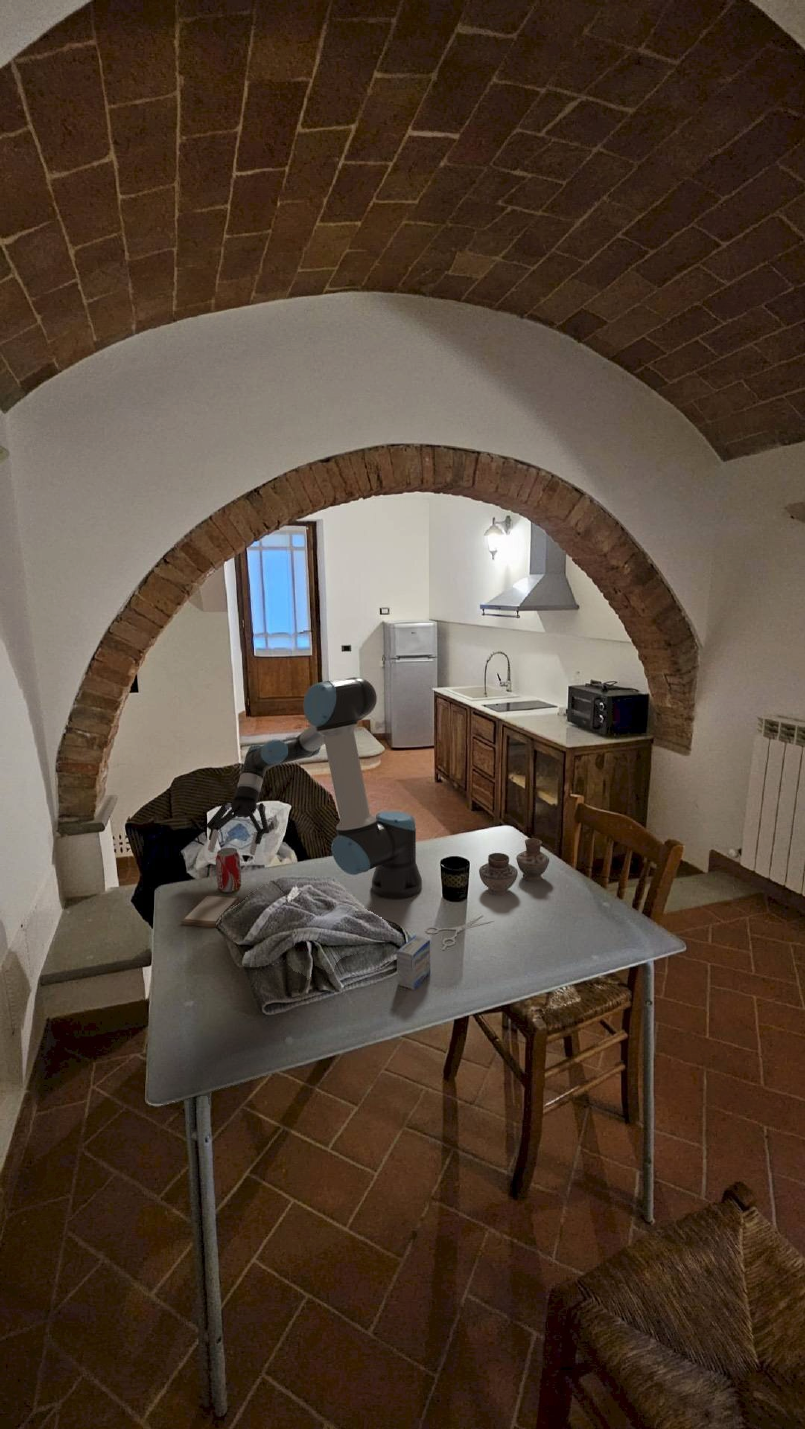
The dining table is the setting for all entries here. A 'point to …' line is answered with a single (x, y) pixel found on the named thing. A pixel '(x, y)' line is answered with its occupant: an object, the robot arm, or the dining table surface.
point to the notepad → (209, 910)
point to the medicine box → (413, 962)
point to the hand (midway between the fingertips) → (231, 852)
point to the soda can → (228, 870)
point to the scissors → (458, 929)
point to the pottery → (513, 868)
